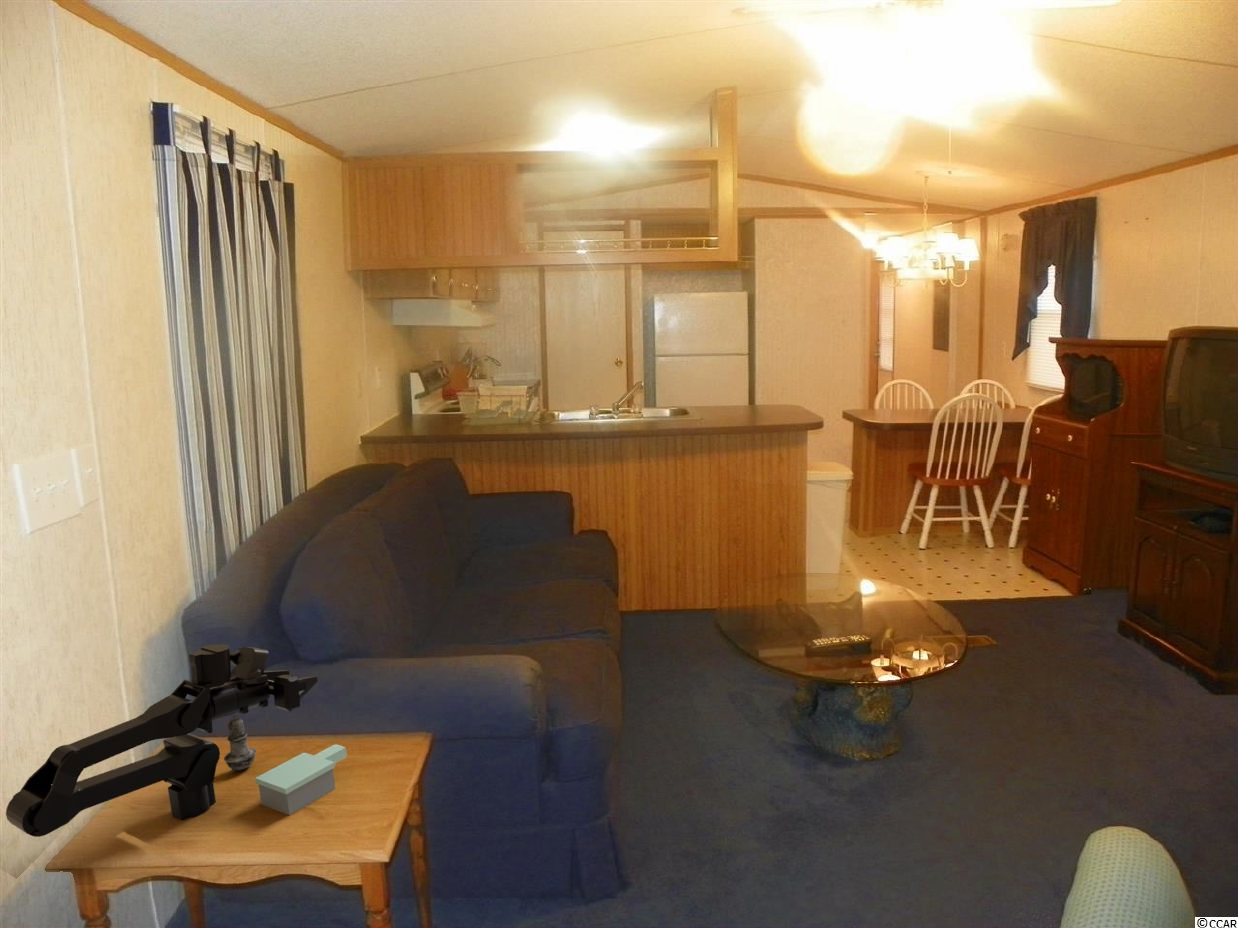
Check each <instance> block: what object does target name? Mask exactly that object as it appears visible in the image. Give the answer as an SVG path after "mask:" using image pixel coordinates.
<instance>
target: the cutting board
mask: <svg viewBox="0 0 1238 928" xmlns="http://www.w3.org/2000/svg"><path fill="white" fill-rule="evenodd" d="M346 758H348V753H347V747H346V746H343V745H339V744H337V743H336V744H333V745H331V746H329V747H327V748H326V749H323V750H322V751H319V752H318V753H316V754H314V755H313V754H310V753H307V752H301V754H298V755H297V756H295V757H293V758H290V759H289V760H287V761H285V762H283V763H281V764H279V765H278V766H275V767H274V768H272V769H270V770H268V771H266V772H264V773H262V774H260V775H258V776H256V777H255V779H254V780H255V784H257V785H258V786H259V785H262V786H265V787H268V788H270V789H273V790H276V791H278V792H281V793H284V794H288V793H290V792H291V791H293V790H295V789H297V788H298V787H300V786H302V785H304V784H306V783H307V782H309V781H311V780H313V779H315V778H316V777H318V776H320V775H322V774H324V773H325V772H327V771H329V770H331V769H333V770H334V769H335V767H336V764H337V763H339V762H340V761H343V760H344V759H346Z"/></svg>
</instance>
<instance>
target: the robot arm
mask: <svg viewBox="0 0 1238 928" xmlns="http://www.w3.org/2000/svg"><path fill="white" fill-rule="evenodd" d="M269 656H270V655H269V651H268V649H263V648H258V647H249V646H242V647H238V649H236V650H234V651H232V652H231V650H230V645H228V644H221V643H220V644H219V643H218V644H216V643H215V644H210V645H209V644H208V645H204V646H200V648H199V649H196V650H195V651H194V652H193V653H190V654H189V655H188V657H189V659H188V661H189V664H190V671H191V676H190V677H191V680H188V679H184V680H183V681H181V683H180V684H179V685H178V686H177V687H176V688H175V689H174V690H173V692H172V693H171V694H170V695H168V696H165V697H164V698H162V699H160V700H159V701H157V702H155V703H154V704H152V705H150V706H149V707H148V708H147V709H146V710H145V711H144V712H143V713H141V714H140V715H139V716H137V717H134V718H132V719H130V720H127V721H124V722H121V723H118V724H117V725H114V726H111V727H108V728H107V729H105V730H102V731H99V732H96V733H95V734H92V735H89V736H87V737H84V738H81V739H79V740H76V741H74V742H72V743H68V744H63V745H60V746H58V747H56V748H55V749H54V750H53V751H52V752H51V753H50V755H49V757H48V758H47V760H46V761H45V763H43V764H42V765H41V766H40V767H39V768H38V769H37V770H36V771H35V772H34V773H33V774H31V775H30V776H29V778H28V779H27V780H26V782H25V783H24V784H23V786H22V787H21V789H20V791H18V792H16V793H14V795H13V796H12V798H11V799H10V801H9V802H8V803H7V804H8V805H7V806H6V811H5V815H6V819H7V821H8V822H9V823H10V824H11V825H13V826H14V827H15V828H17V829H19V830H21V831H22V832H24V833H26V834H27V835H29V836H32V837H34V838H35V837H36V838H37V837H38V838H39V837H44V836H46V835H49V834H50V833H53V832H55V831H57V830H58V829H60V828H61V827H64V826H66V825H67V824H69V823H70V822H71V821H72V820H73V819H74V818H75V817H76V816H77V815H79V813H81V812H82V811H85V810H87V809H90V808H92V807H95V806H97V805H100V804H103V803H106V802H108V801H111V800H113V799H117V798H120V797H122V796H125V795H128V794H129V793H133V792H136V791H138V790H142V789H144V788H146V787H149V786H152V785H154V784H157V783H160V782H162V781H163V782H165V783H168V784H169V785H170V786H168V787H167V792H168V799H169V804H170V812H171V816H172V818H174V819H176V820H179V821H185V820H187V819H192V818H197V817H199V816H201V815H203V814H205V813H206V812H208V811H209V810H210V808H211V807H212V806H213V805H215V804H216V803H217V799H216V793H215V786H214V781H215V776H216V770H217V765H218V762H219V760H220V757H221V756H220V754H221V753H220V752H221V751H220V748H219V746H218V745H217V744H216V743H214V742H213V741H210V740H207V739H205V738H202V737H199V736H197V735H195V734H191V733H193V732H195V731H196V730H197V729H198V730H200V731H202V732H204V733H207V734H212V733H213V731H214V730H213V729H214V727H213V721H216V720H218V719H222V718H225V717H228V716H231V715H234V714H237V713H239V714H242V715H243V714H248V713H249V709H253V708H255V707H261V708H266V707H268V706H269V699H270V696H273V701H274V707H276V708H277V709H279V710H283V711H286V712H290V713H291V712H293V711H297V710H299V709H300V708H301V700H302V699H303V698H304V697H305V696H306V695H307V694H308V692H309V691H311V689H312V688H313V687H314V686H315V685H316V684H317V683H318V681H319V680H318V676H316V675H315V676H308V677H305V676H304V677H300V678H298V676H296V675H295V674H290V670H288V669H287V670H286V669H285V670H266V669H265V668H266V664H267V660H268V659H269ZM231 665H232V666H233V668H232V670H231ZM187 696H191V697H194V698H193V699H194V700H192V699H189V698H187ZM155 740H163V746H164V747H163V748H162V749H161V750H160V751H159V752H158V753H156V754H155V755H152V756H149V757H145V758H143V759H140V760H136V761H134V762H131V763H129V764H125V765H123V766H120V767H116V768H114V769H110V770H108V771H105V772H102V773H100V774H96V775H93V776H90V777H87V778H85V779H81V780H78V779H79V777H80V776H81V774H82V772H83V771H84V769H87V768H90V767H92V766H94V765H97V764H99V763H101V762H103V761H106V760H108V759H111V758H114V757H115V756H118V755H120V754H123V753H125V752H127V751H129V750H133V749H134V748H138V746H141V745H144V744H146V743H148V742H151V741H155Z"/></svg>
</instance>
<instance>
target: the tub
mask: <svg viewBox="0 0 1238 928" xmlns="http://www.w3.org/2000/svg"><path fill="white" fill-rule="evenodd" d="M334 776H335V775H334V768H333V769H331V770H329V771H327V772H325V773H324V774H322V775H320V776H318V777H316V778H315V779H313V780H311V781H309V782H307V783H306V784H304V785H302V786H300V787H298V788H297V789H295V790H293V791H291V792H290V793H288V794H284V793H281V792H278V791H276V790H273V789H270V788H268V787H265V786H262V785H259V784H258V790H259V797H260V802H261V803H260V804H261V805H262V806H264V807H267V808H270V809H272V810H274V811H277V812H279V813H283V814H285V815H287V816H291V815H294V813H295V814H296V813H297V812H298V811H300V810H302V809H303V808H306V807H307V806H309V805H311V804H312V803H314V802H316V801H317V800H319V799H321V798H323V797H324V796H326V795H328V794H329V793H331V792H333V791H334V790H336V783H335V777H334Z"/></svg>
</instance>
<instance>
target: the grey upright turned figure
mask: <svg viewBox="0 0 1238 928" xmlns="http://www.w3.org/2000/svg"><path fill="white" fill-rule="evenodd" d="M227 730H228V737H227V741H229V747H230V750H229V752H228V753H227V754H226V755H224V758H223V760H224V762H226V765H227V766H228V768H230V769H231V770H230V771H229V772H228V773H227V776H229V775H232V774H233V773H235V772H242V771H245V770H247V769H248V768H249V767H250V766H251V765H252V764H253V763H254V762H255V757H256V754H257V750H256V749H255V748H254V747H249V744H248V741H247V736H248V733H247V732H246V731H245V725H244V720H243V719H242V718H241V717H237V715H236V713H234V714H232V718H231V719H230V720H228V721H227Z"/></svg>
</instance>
